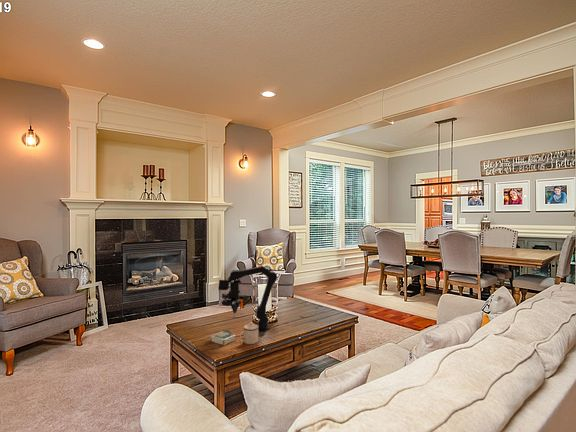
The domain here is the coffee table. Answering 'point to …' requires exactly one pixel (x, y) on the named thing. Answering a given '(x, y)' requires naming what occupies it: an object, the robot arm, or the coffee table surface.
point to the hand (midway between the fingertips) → (234, 313)
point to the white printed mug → (250, 333)
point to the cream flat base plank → (222, 341)
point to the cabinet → (223, 334)
